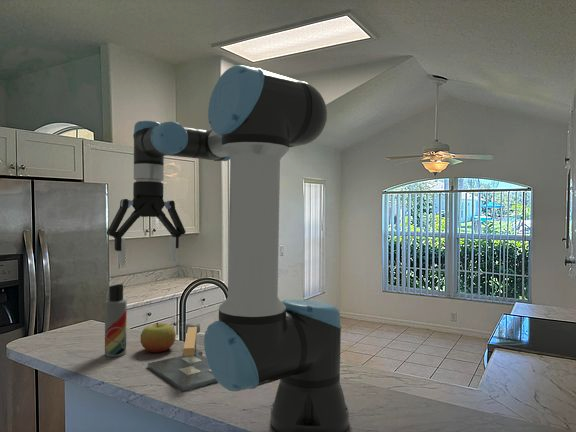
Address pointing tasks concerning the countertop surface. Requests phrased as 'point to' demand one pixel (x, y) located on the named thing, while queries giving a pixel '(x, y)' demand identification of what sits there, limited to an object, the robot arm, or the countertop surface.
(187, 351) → the cable arm
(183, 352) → the post
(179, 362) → the plate
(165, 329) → the apple
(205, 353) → the robot arm
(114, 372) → the countertop surface
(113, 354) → the lotion bottle
